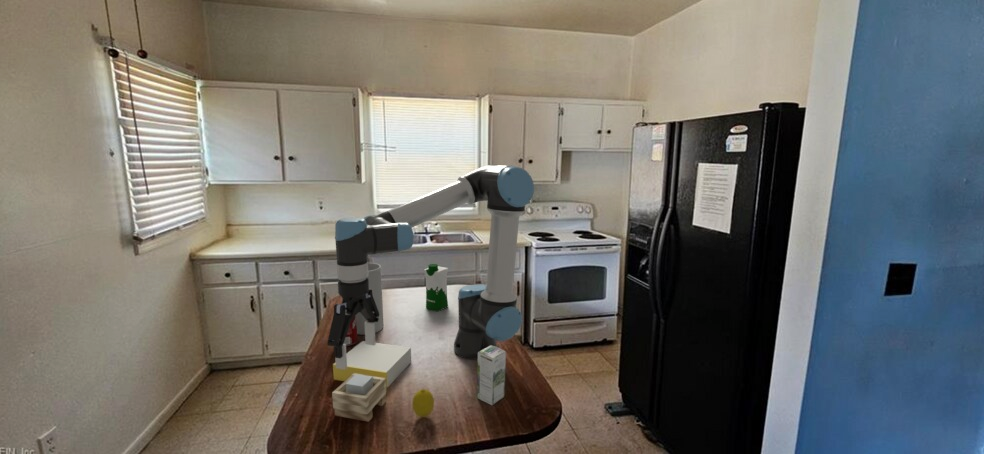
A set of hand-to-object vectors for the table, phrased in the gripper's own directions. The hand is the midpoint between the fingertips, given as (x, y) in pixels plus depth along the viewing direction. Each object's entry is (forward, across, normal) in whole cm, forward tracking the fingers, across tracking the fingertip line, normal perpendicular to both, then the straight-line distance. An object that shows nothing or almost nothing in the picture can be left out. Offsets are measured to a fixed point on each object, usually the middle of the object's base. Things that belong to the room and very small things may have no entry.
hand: (356, 355), depth 111 cm
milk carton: (+15, -74, -8) cm, 76 cm away
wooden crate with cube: (+16, 0, 0) cm, 16 cm away
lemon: (+16, -1, +18) cm, 24 cm away
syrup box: (+15, -14, +33) cm, 39 cm away
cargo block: (+11, 0, 0) cm, 11 cm away
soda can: (+16, -33, -26) cm, 45 cm away
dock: (+15, -19, -7) cm, 26 cm away
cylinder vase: (+16, -46, -26) cm, 55 cm away
